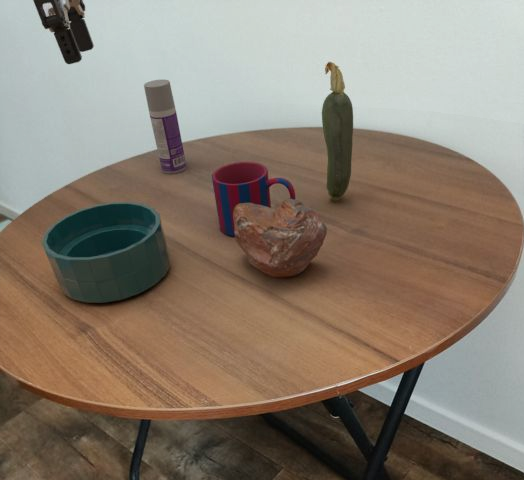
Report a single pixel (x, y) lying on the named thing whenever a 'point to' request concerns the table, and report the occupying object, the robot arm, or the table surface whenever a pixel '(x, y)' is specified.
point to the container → (165, 126)
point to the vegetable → (337, 134)
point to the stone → (279, 236)
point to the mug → (242, 190)
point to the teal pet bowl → (107, 251)
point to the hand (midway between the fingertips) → (81, 56)
